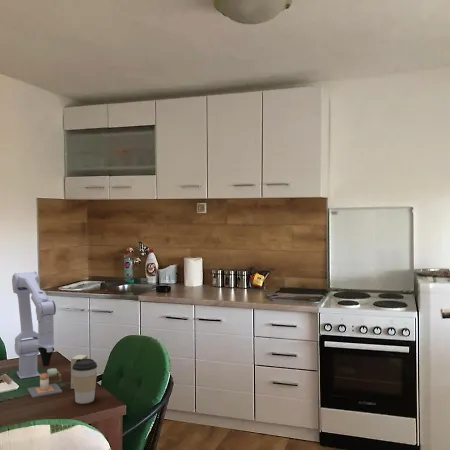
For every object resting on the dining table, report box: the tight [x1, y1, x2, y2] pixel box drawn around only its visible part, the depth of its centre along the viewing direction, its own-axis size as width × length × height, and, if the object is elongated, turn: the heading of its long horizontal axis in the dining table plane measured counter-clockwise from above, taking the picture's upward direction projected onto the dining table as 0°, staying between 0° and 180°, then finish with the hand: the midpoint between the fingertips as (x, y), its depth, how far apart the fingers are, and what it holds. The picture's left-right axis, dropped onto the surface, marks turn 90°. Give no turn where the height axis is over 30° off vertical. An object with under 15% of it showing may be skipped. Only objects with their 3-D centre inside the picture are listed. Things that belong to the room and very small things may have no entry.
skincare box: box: [70, 354, 88, 390], centre depth 202 cm, size 6×4×12 cm
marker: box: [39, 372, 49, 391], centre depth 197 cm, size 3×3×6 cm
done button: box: [46, 367, 58, 376], centre depth 208 cm, size 4×4×3 cm
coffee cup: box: [72, 358, 98, 405], centre depth 188 cm, size 9×9×15 cm
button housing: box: [49, 370, 62, 384], centre depth 208 cm, size 6×6×3 cm
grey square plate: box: [27, 383, 63, 399], centre depth 197 cm, size 10×11×1 cm
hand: (46, 365), depth 199 cm, fingers closed
